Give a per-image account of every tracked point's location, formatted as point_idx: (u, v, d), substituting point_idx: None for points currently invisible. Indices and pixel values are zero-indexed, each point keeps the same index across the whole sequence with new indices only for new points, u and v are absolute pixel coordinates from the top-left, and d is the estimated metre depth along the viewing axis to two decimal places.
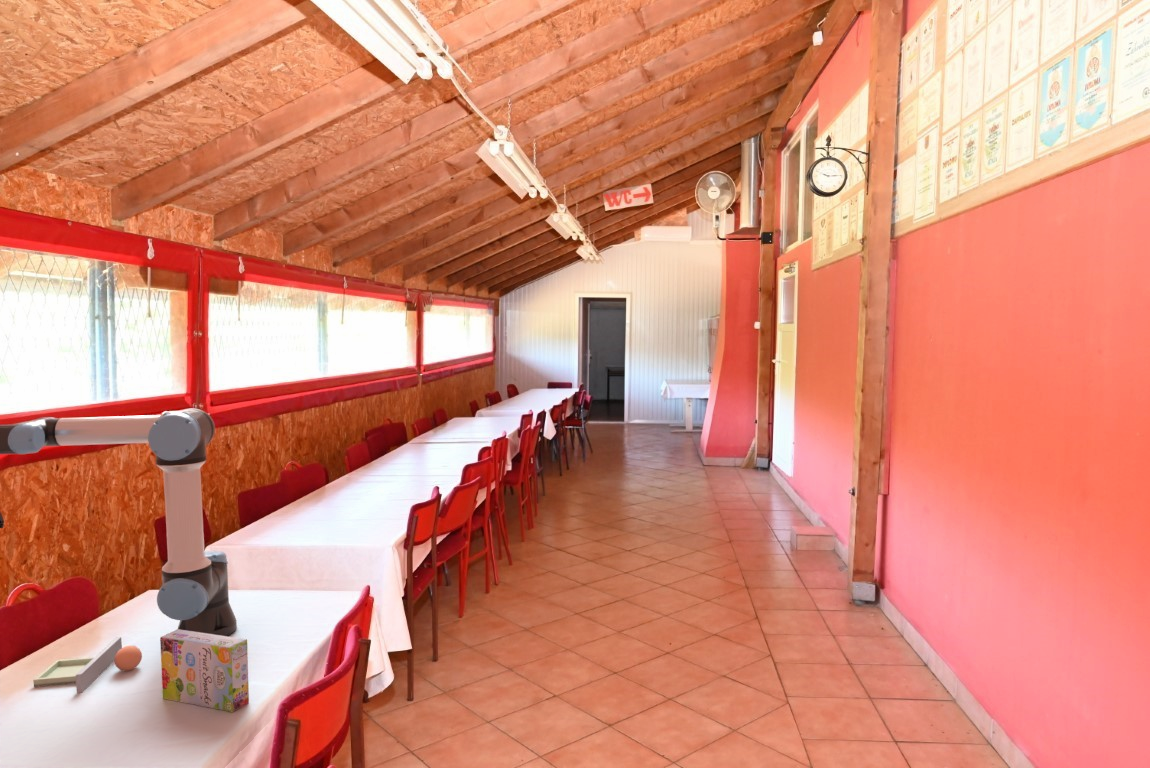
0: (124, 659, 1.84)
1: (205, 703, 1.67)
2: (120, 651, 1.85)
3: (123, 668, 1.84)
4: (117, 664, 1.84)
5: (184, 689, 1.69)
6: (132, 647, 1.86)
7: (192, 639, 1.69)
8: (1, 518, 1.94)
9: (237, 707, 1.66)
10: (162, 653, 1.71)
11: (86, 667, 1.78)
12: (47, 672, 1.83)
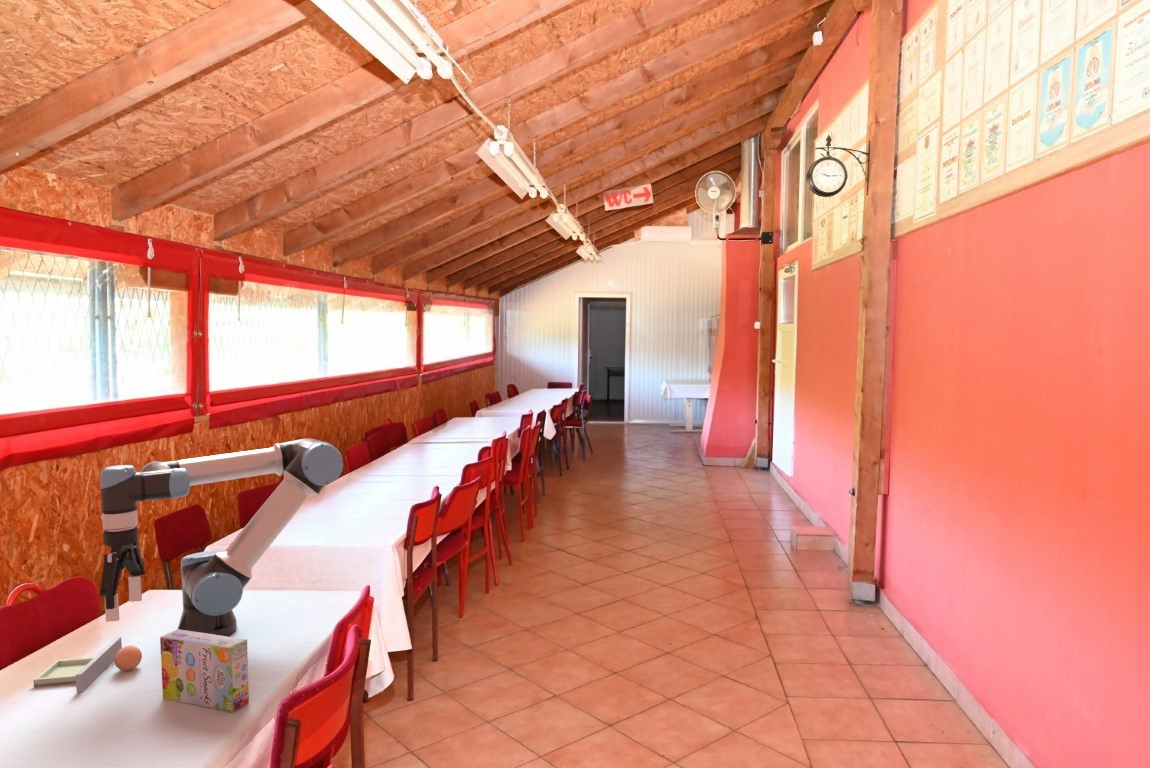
0: (124, 659, 1.84)
1: (205, 703, 1.67)
2: (120, 651, 1.85)
3: (123, 668, 1.84)
4: (117, 664, 1.84)
5: (184, 689, 1.69)
6: (132, 647, 1.86)
7: (192, 639, 1.69)
8: (142, 564, 1.94)
9: (237, 707, 1.66)
10: (162, 653, 1.71)
11: (86, 667, 1.78)
12: (47, 672, 1.83)
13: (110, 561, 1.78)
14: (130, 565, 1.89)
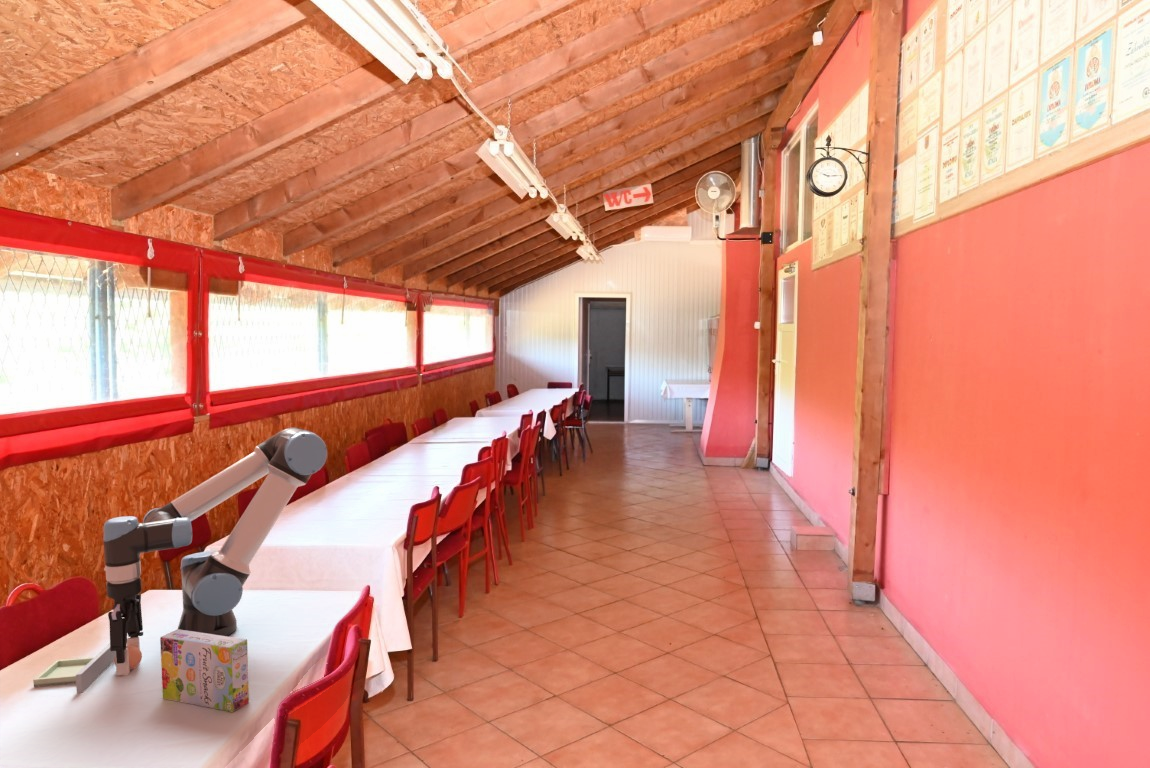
0: None
1: (205, 703, 1.67)
2: None
3: None
4: None
5: (184, 689, 1.69)
6: (132, 647, 1.86)
7: (192, 639, 1.69)
8: (141, 624, 1.92)
9: (237, 707, 1.66)
10: (162, 653, 1.71)
11: (86, 667, 1.78)
12: (47, 672, 1.83)
13: (115, 619, 1.80)
14: (131, 621, 1.88)
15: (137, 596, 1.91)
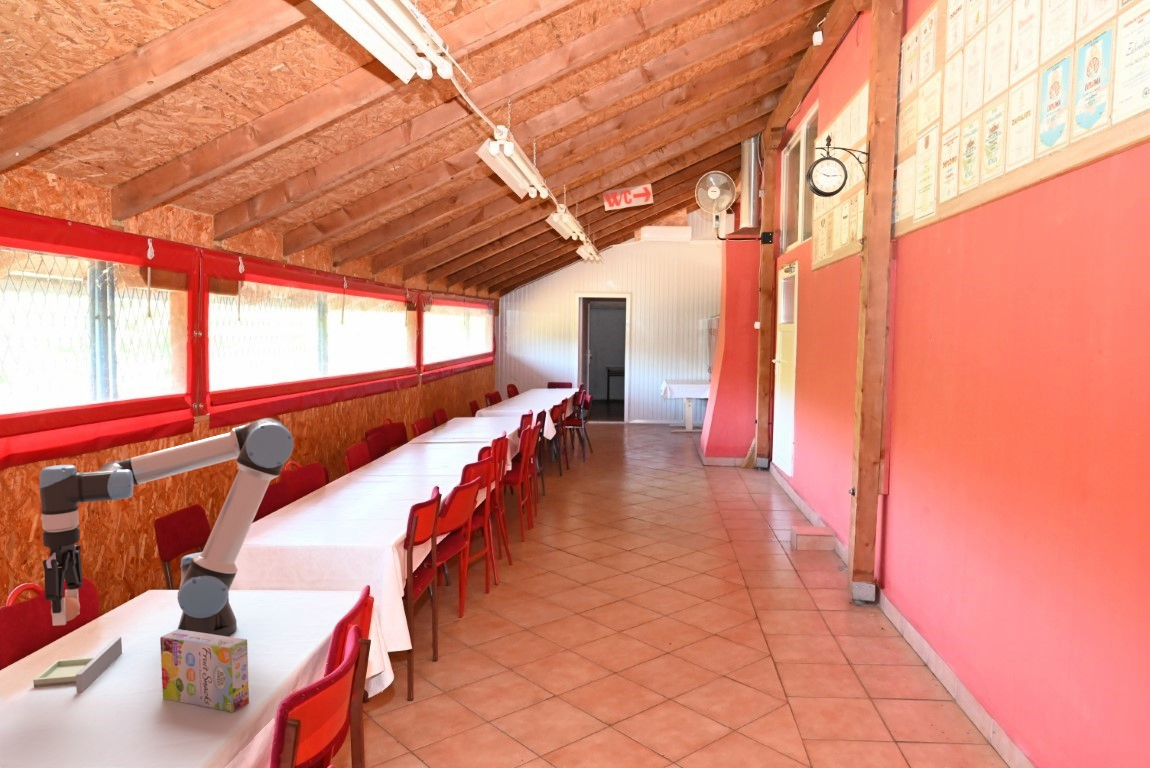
0: None
1: (205, 703, 1.67)
2: None
3: None
4: None
5: (184, 689, 1.69)
6: (70, 598, 1.83)
7: (192, 639, 1.69)
8: (81, 576, 1.89)
9: (237, 707, 1.66)
10: (162, 653, 1.71)
11: (86, 667, 1.78)
12: (47, 672, 1.83)
13: (50, 567, 1.76)
14: (69, 572, 1.85)
15: (76, 547, 1.88)
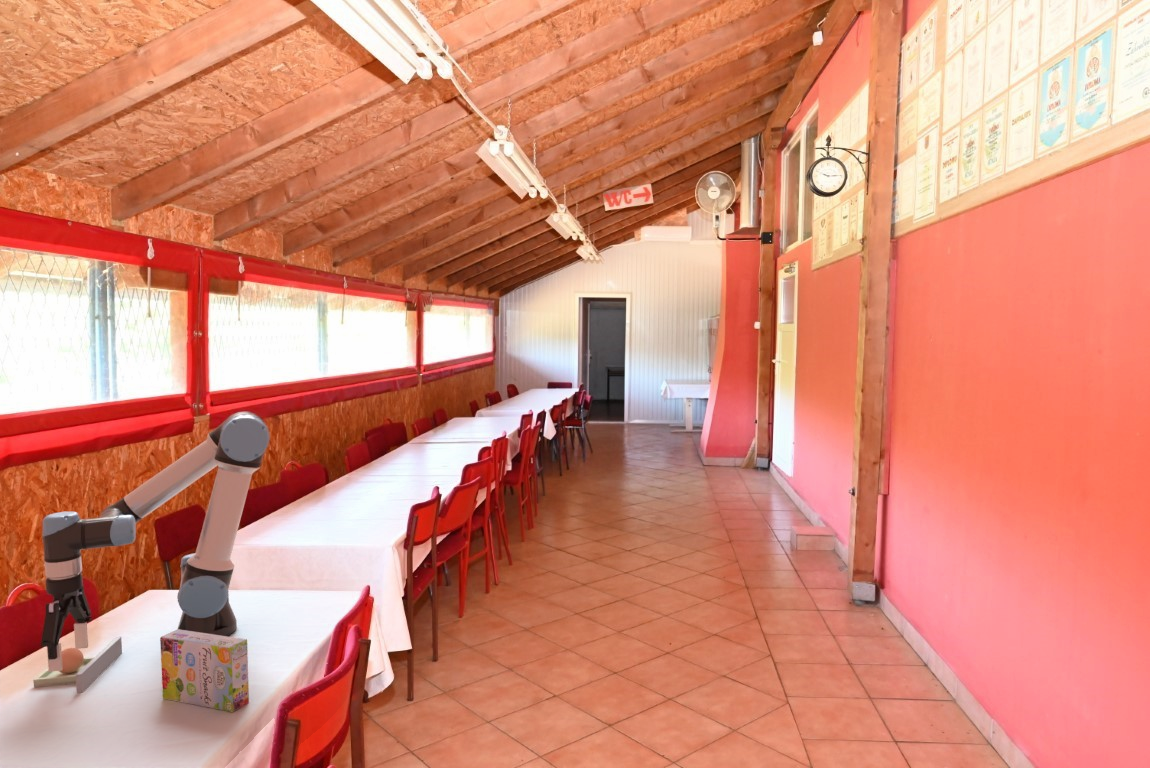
0: (64, 662, 1.81)
1: (205, 703, 1.67)
2: None
3: (63, 671, 1.82)
4: None
5: (184, 689, 1.69)
6: (73, 649, 1.84)
7: (192, 639, 1.69)
8: (89, 610, 1.92)
9: (237, 707, 1.66)
10: (162, 653, 1.71)
11: (86, 667, 1.78)
12: (47, 672, 1.83)
13: (52, 611, 1.76)
14: (76, 612, 1.88)
15: (79, 589, 1.89)
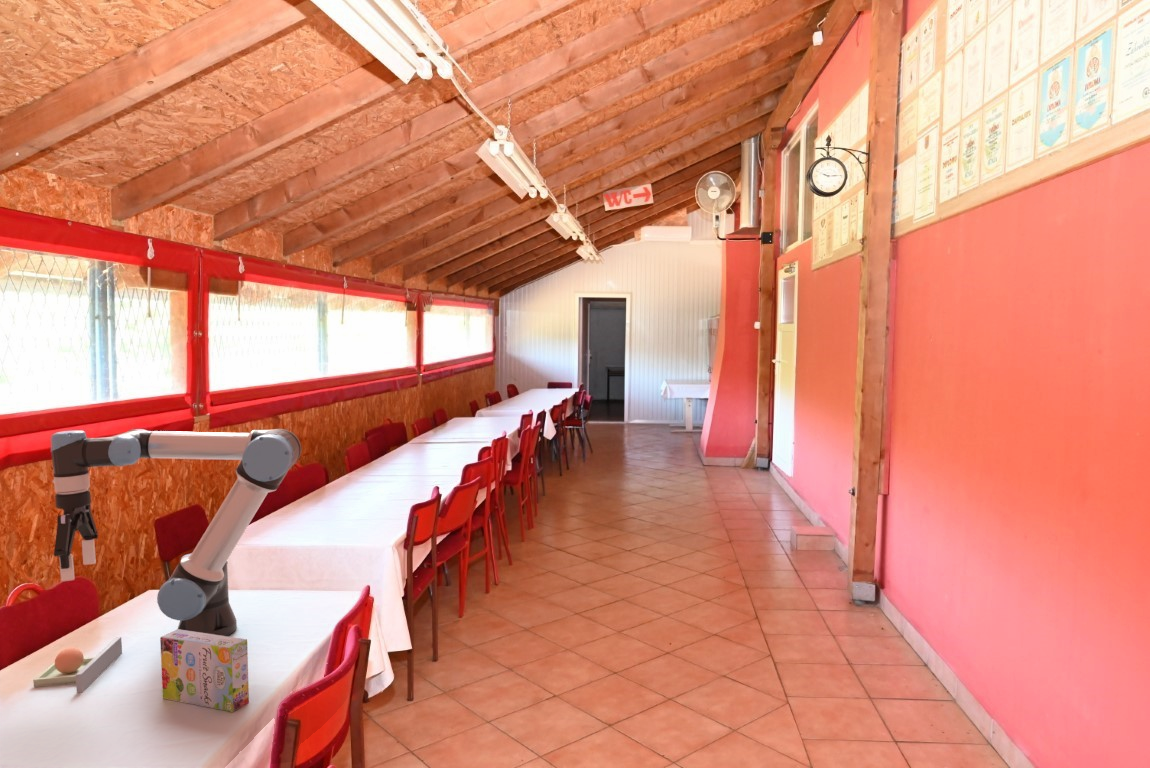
0: (64, 662, 1.81)
1: (205, 703, 1.67)
2: (60, 653, 1.83)
3: (63, 670, 1.82)
4: (57, 666, 1.81)
5: (184, 689, 1.69)
6: (73, 649, 1.84)
7: (192, 639, 1.69)
8: (95, 529, 1.99)
9: (237, 707, 1.66)
10: (162, 653, 1.71)
11: (86, 667, 1.78)
12: (47, 672, 1.83)
13: (64, 522, 1.83)
14: (84, 528, 1.94)
15: (86, 506, 1.95)
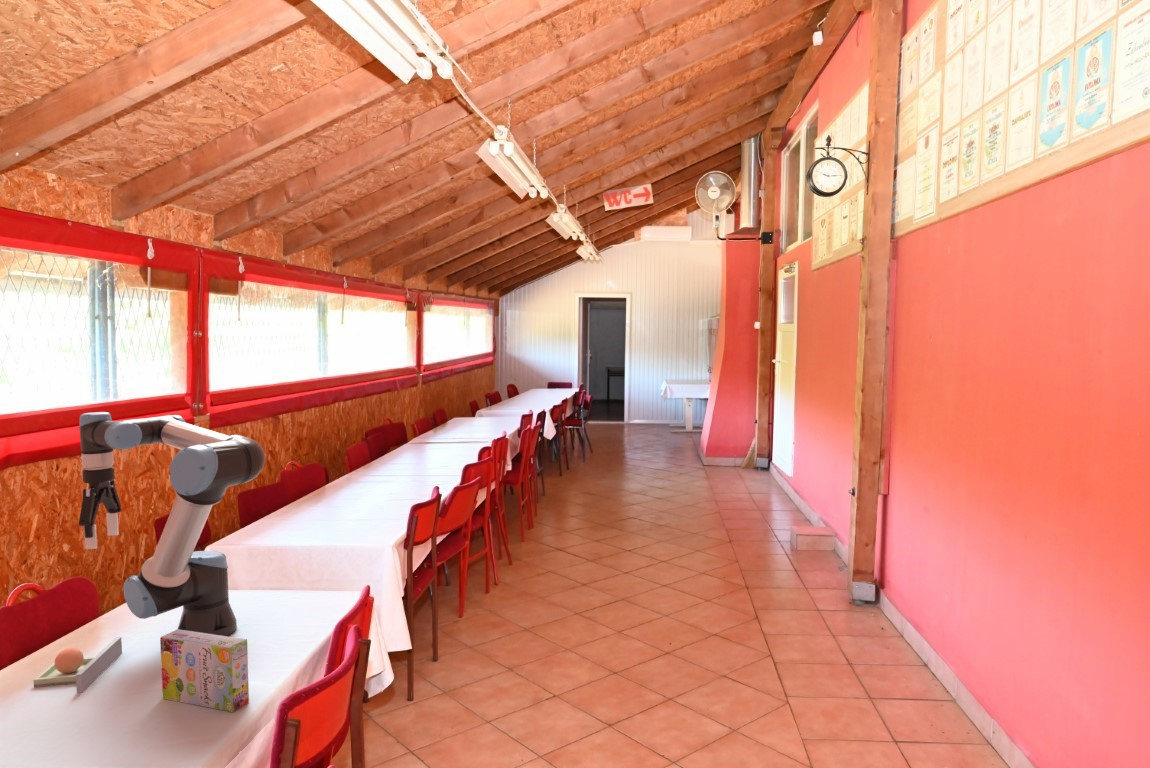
0: (64, 661, 1.81)
1: (205, 703, 1.67)
2: (60, 653, 1.83)
3: (63, 670, 1.82)
4: (57, 666, 1.81)
5: (184, 689, 1.69)
6: (73, 649, 1.84)
7: (192, 639, 1.69)
8: (119, 503, 2.16)
9: (237, 707, 1.66)
10: (162, 653, 1.71)
11: (86, 667, 1.78)
12: (47, 672, 1.83)
13: (88, 495, 2.00)
14: (108, 502, 2.11)
15: (111, 482, 2.12)
